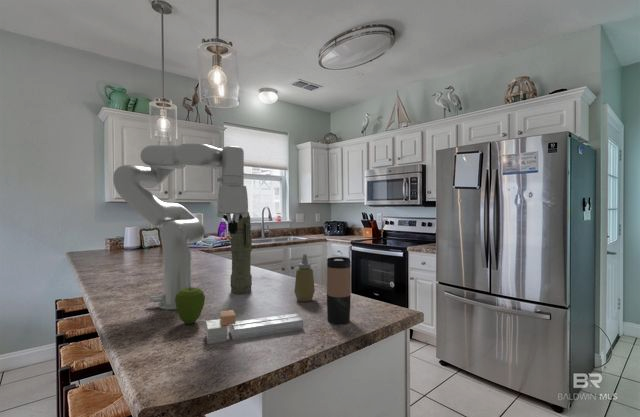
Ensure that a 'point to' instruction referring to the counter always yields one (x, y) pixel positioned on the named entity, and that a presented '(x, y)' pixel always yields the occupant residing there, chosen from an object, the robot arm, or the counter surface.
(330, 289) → the travel mug
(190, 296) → the apple
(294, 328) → the base
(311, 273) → the squeeze bottle
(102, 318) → the counter surface
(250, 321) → the arm
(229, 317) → the block
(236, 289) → the thermos
